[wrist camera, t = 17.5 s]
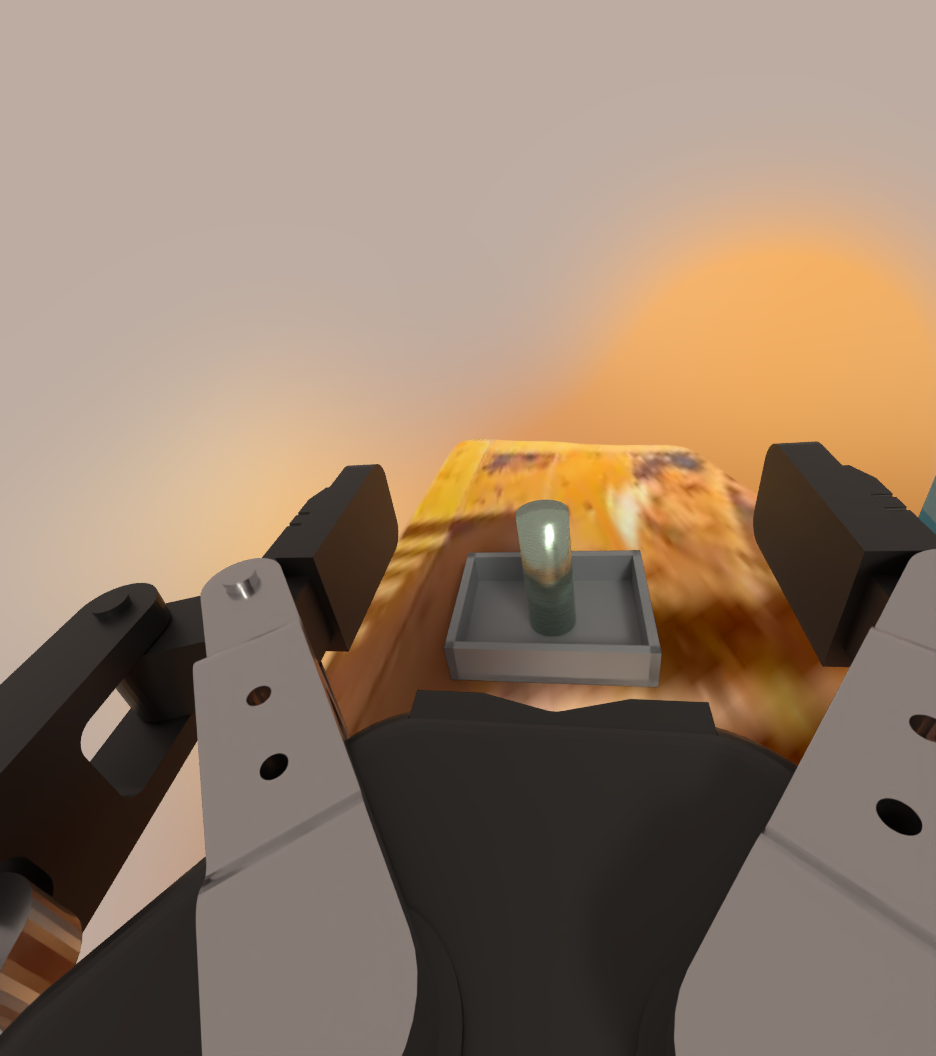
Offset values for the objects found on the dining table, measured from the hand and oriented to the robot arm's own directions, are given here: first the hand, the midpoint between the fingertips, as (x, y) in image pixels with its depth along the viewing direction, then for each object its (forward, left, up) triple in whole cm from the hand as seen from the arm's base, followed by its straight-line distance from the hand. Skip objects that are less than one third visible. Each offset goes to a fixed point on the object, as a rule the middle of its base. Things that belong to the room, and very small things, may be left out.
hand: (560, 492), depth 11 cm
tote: (+2, -26, -30) cm, 40 cm away
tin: (+2, -26, -29) cm, 39 cm away
